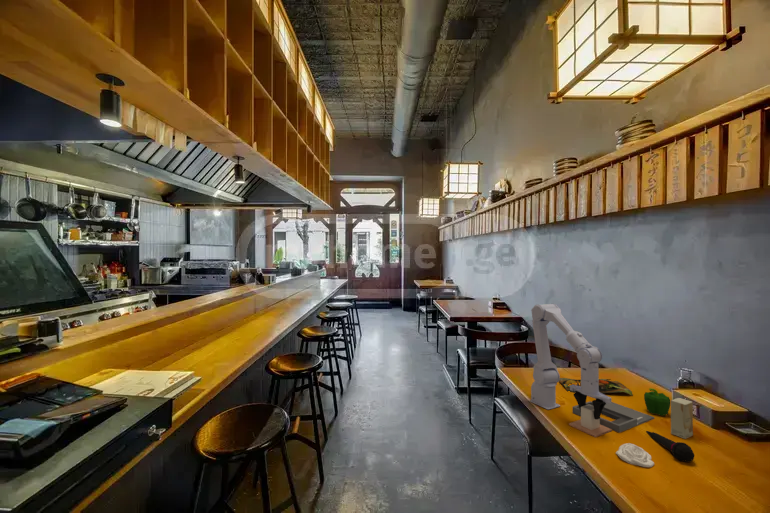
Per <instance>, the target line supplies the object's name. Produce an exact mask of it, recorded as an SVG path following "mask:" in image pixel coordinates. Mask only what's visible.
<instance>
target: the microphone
mask: <svg viewBox="0 0 770 513" xmlns="http://www.w3.org/2000/svg"><path fill="white" fill-rule="evenodd" d="M646 434H648V435H649V436H650V437H651V438H652V439H653V440H654V441H655V442H657V443H659V444H660V445H662V446H663V447H664V448H666V449H667V450H669V451H670V452H672V455H673V457H674V459H677V460H678V461H679V462H687V463H690V462H692V461H693V460H695V452H694V451H693V449H692V447H691V446H690V445H688V444H687V443H685V442H683V441H682V442H680V441H679V442H678V441H677V442H676V441H674V440H671V439H670V438H667V437H666V436H664V435H661V434H659V433H657V432H654V431H649V430H646Z"/></svg>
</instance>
